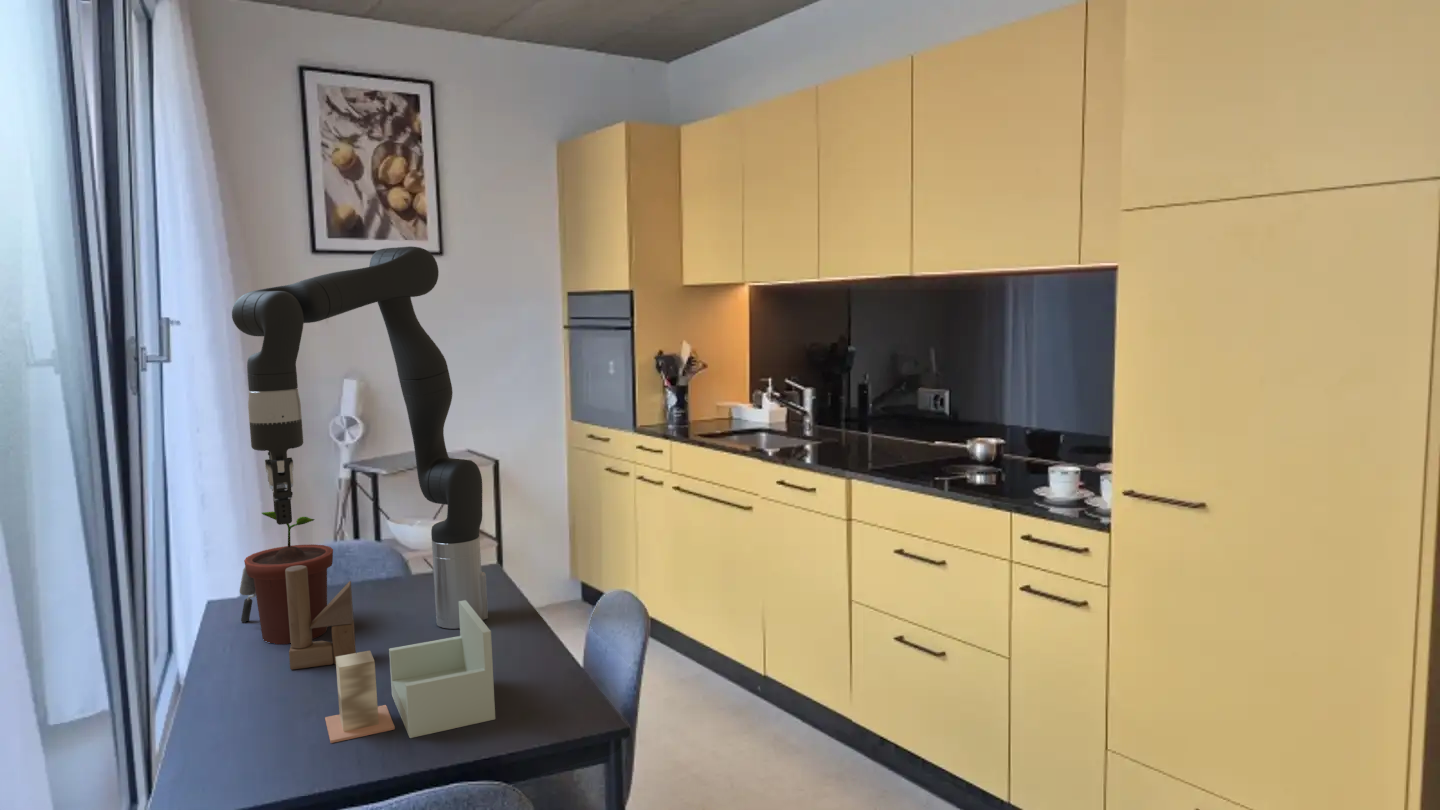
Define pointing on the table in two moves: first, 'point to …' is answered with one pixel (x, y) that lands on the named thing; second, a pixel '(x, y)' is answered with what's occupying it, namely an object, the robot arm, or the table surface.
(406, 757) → the table surface
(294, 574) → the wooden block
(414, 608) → the table surface
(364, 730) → the mat
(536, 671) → the table surface
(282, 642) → the potted plant
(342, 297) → the robot arm
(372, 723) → the birch block
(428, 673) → the cubby
